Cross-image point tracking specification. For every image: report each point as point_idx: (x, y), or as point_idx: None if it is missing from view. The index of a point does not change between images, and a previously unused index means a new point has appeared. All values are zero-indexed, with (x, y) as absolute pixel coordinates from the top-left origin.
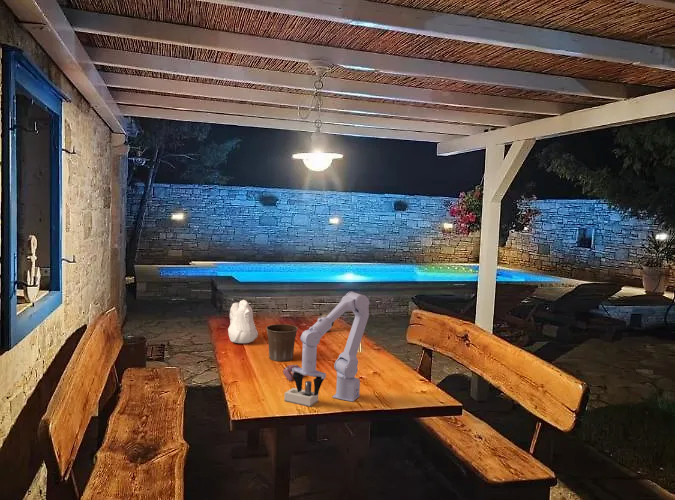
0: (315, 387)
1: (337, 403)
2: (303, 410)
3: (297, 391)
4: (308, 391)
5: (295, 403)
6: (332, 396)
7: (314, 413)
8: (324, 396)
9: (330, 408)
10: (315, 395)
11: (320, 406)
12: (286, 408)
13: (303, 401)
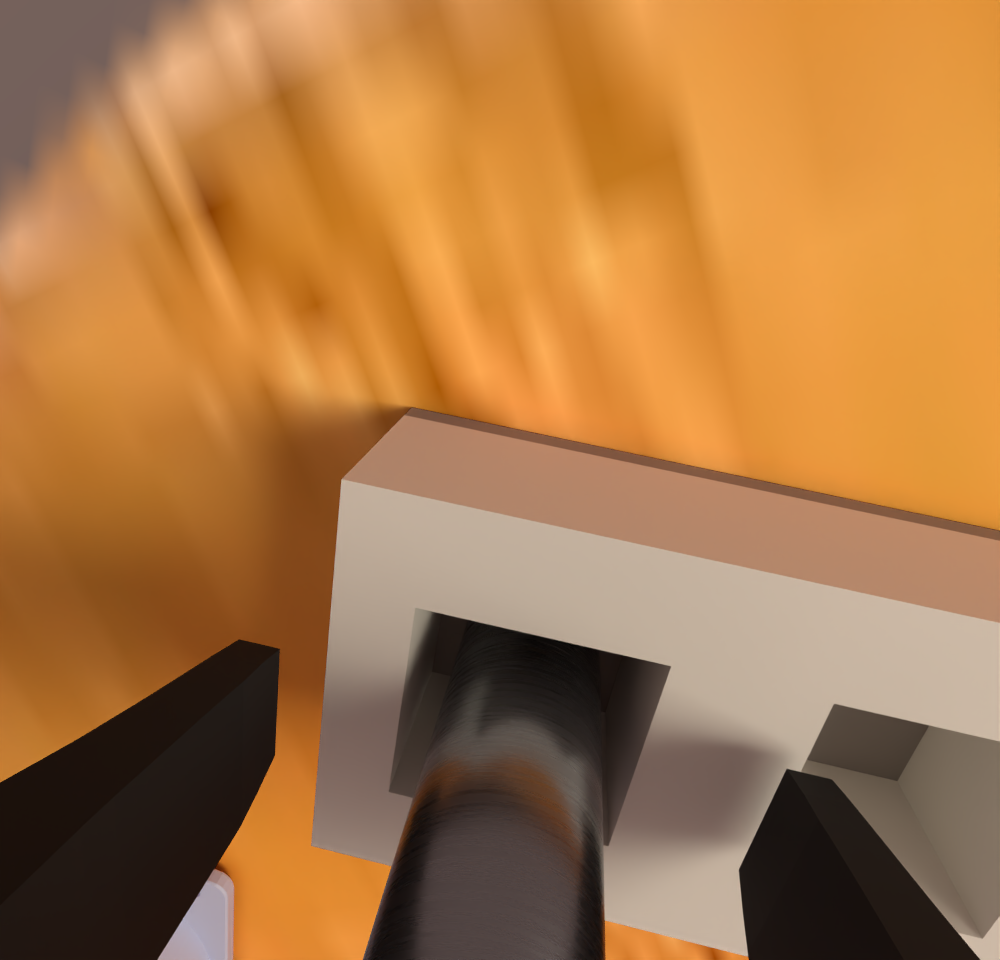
0: (13, 827)
1: (60, 697)
2: (478, 136)
3: None
4: (461, 760)
5: (780, 486)
6: (219, 888)
7: (164, 47)
8: (363, 894)
9: (35, 463)
10: (245, 642)
11: (236, 499)
12: (972, 86)
13: (572, 472)
